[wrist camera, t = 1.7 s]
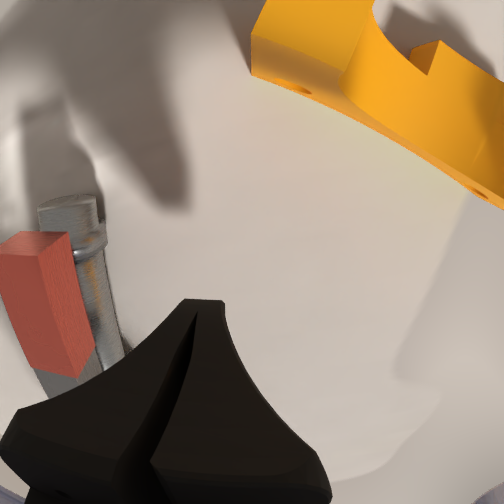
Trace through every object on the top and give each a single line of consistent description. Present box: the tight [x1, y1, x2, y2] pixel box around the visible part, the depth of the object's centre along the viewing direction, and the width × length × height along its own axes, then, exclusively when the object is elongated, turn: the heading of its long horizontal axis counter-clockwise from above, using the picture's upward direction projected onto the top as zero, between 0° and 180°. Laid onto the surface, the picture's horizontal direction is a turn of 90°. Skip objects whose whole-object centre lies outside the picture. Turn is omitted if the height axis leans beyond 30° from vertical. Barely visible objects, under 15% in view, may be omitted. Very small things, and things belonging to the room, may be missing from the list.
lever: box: [0, 231, 103, 399], centre depth 11 cm, size 14×3×2 cm, turn 178°
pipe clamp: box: [251, 0, 504, 210], centre depth 8 cm, size 12×4×6 cm, turn 69°
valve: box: [37, 195, 125, 371], centre depth 15 cm, size 19×4×3 cm, turn 178°
